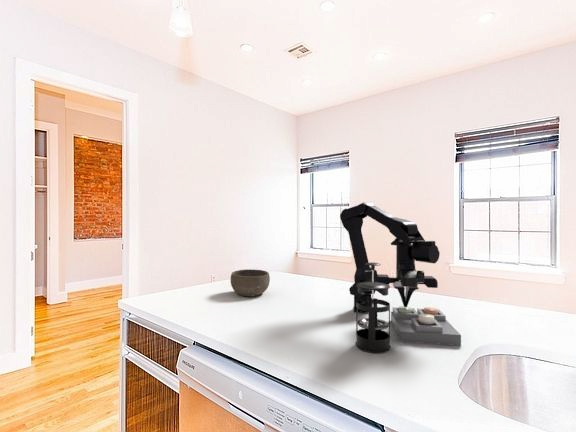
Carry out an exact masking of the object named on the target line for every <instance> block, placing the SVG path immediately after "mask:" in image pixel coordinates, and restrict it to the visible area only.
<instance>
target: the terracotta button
mask: <svg viewBox="0 0 576 432" xmlns="http://www.w3.org/2000/svg"><path fill="white" fill-rule="evenodd" d="M423 309H424V314H432V315H438V310H439V309H438V308H435V307H431V306H429V307H424V308H423Z"/></svg>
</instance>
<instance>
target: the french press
mask: <svg viewBox="0 0 576 432" xmlns="http://www.w3.org/2000/svg"><path fill="white" fill-rule="evenodd" d="M365 265H369V266H370V267H371V270H372V282H360V283H357V284H356V286H357V287H358V293H359V294H362V293H364V292H365V291H367V290H372V294H371V299H360V300H357V301H356V312H355V313H356V319H355V320H356V321H355V322H356V324H355V326H356V328H355V329H356V330H355V332H356V333H355V337H356V338H355V340H356V341H355V347H356V348H357V349H359V350H360V351H362V352H366V353H370V354H384V353H385V354H386V353H388V352H389V351H390V350H391V349H392V347H391V304H390V302H388V301H387V300H383V299H378V298H376V297H374V295H375V294H374V290H375V292H378V293H379V294H380V295H382V296H383V297H384V296H388V295H389V289H390V288H391V286H390V284H389V285H388V284H384V283H379V282H374V270H376V269H375V267H379V266H381V265H382V264H381V263H378V262H369V263H366V264H365ZM365 303H371V307H367V306H363V305H360V304H365ZM378 305H382V306H378ZM358 309H360V310H362V311H367V312H368V313H367V314H368V315H367V316H368V317H366V318H359V316H358V313H359V312H358ZM385 312H388V321H386V320H383V319H380V318H378V313H385ZM358 318H359V319H358ZM358 327H361V329H359V330H358ZM387 329H388V332H387V331H385V330H387Z"/></svg>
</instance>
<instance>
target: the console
mask: <svg viewBox="0 0 576 432" xmlns="http://www.w3.org/2000/svg"><path fill="white" fill-rule="evenodd" d="M411 308H412V307H411ZM419 314H424V308H417V309H415V307H413V308H412V313H398V307H392V311H390V322H391V323H392V325H393V326H392V327H393V328H394V330H395V333H396V335H397V336H398V339H399V342H400V343H411V344H412V343H415V344H426V345H427V344H429V345H441V344H443V345H444V346H456V345H460V347H461V346H462V335H461V333H460V332H459V331H458V330H457V329H456V328H455V327H454V326H453V325H452V324H451V322H449V321H448V320H447V319H446V318H447V317H446V315H445V314H444V313H443V312H442V311H441V310H440V309H438V315H433V316H434V324H423V323H420V322H419ZM430 315H432V314H430ZM443 345H442V346H443Z"/></svg>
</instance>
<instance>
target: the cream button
mask: <svg viewBox="0 0 576 432" xmlns="http://www.w3.org/2000/svg"><path fill="white" fill-rule="evenodd" d="M419 322H420V323H423V324H434V316H433V315H430V314H419Z"/></svg>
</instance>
